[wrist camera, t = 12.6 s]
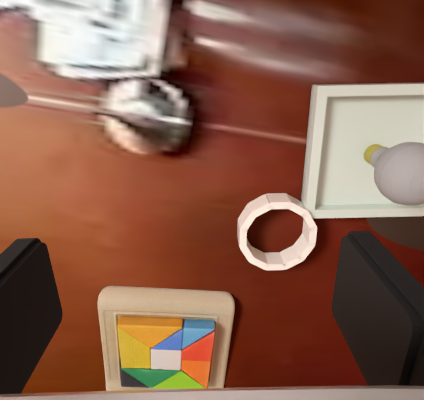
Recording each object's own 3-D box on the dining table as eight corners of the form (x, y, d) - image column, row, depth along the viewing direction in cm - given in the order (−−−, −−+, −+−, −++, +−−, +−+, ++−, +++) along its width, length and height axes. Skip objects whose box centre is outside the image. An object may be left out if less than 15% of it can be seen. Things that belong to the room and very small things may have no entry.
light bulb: (406, 133, 35) (477, 161, 26) (382, 180, 37) (441, 222, 28) (358, 120, 34) (414, 144, 25) (337, 169, 36) (382, 208, 27)
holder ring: (238, 194, 38) (240, 203, 35) (313, 192, 38) (320, 201, 36) (237, 258, 41) (238, 270, 39) (306, 257, 41) (312, 269, 39)
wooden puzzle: (107, 385, 50) (100, 408, 47) (100, 282, 43) (92, 300, 40) (222, 390, 51) (223, 412, 48) (235, 289, 44) (237, 307, 40)
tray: (311, 84, 33) (318, 85, 32) (450, 81, 34) (464, 83, 32) (300, 211, 39) (304, 218, 37) (419, 208, 39) (430, 215, 37)
